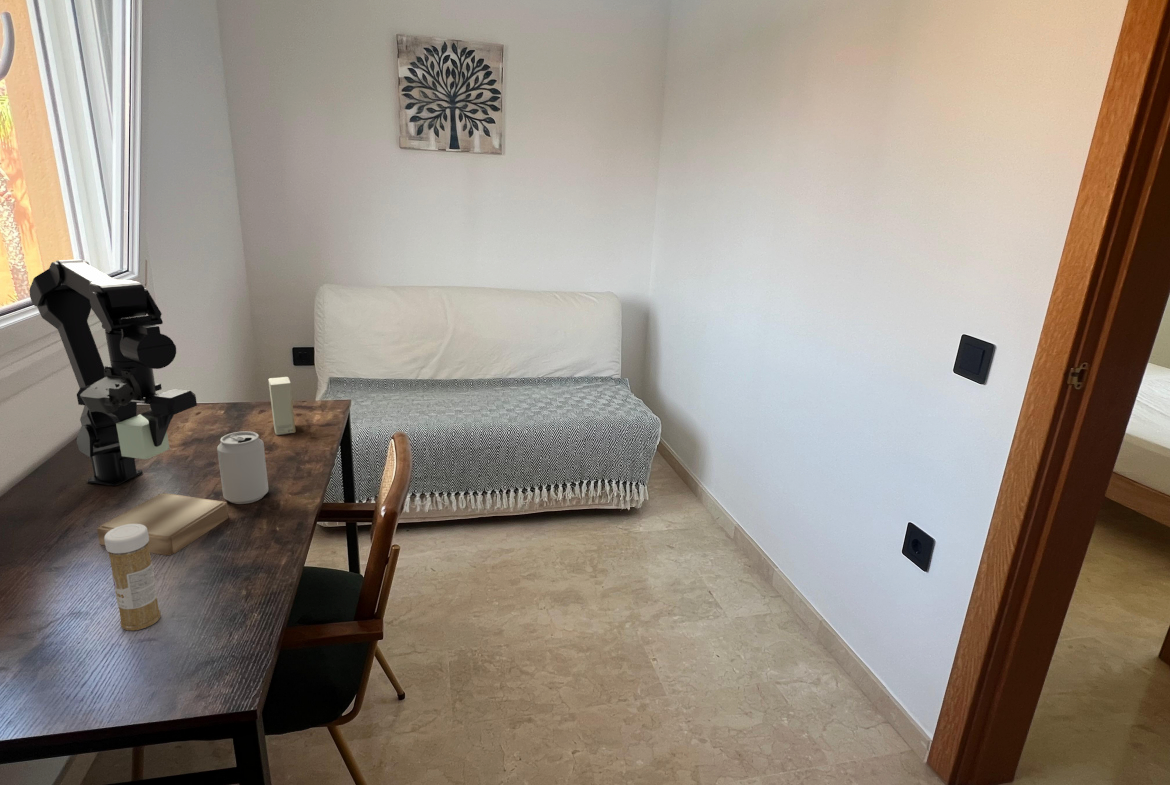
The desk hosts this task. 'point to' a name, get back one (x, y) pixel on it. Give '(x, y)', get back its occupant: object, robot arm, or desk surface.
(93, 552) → the desk surface
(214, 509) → the base slab
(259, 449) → the can
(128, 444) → the green block
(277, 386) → the skincare box
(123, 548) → the sprinkles bottle
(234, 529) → the desk surface
